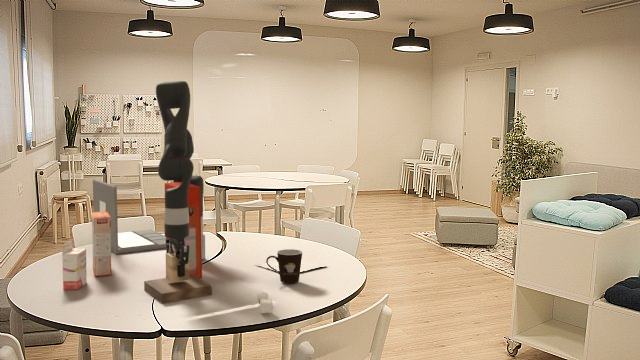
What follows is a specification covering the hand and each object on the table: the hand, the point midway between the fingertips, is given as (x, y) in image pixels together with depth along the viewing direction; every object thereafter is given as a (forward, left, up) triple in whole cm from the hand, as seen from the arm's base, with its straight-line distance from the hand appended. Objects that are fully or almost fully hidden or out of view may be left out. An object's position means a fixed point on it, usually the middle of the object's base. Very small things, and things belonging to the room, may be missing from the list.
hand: (177, 274), depth 175 cm
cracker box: (+13, -39, -6) cm, 41 cm away
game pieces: (-16, +27, -6) cm, 32 cm away
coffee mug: (-36, +7, -6) cm, 37 cm away
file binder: (-10, -20, -6) cm, 23 cm away
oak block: (0, 0, -2) cm, 2 cm away
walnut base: (0, 0, -6) cm, 6 cm away
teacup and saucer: (-49, -10, -6) cm, 50 cm away
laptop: (-11, -78, -6) cm, 79 cm away
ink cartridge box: (+25, -25, -6) cm, 36 cm away
